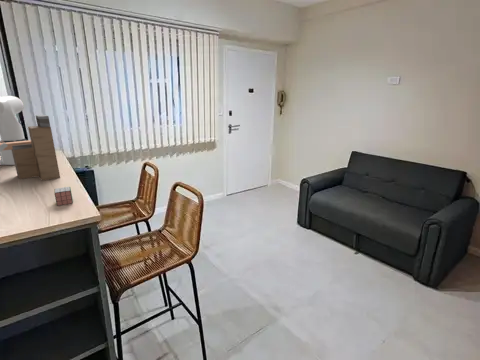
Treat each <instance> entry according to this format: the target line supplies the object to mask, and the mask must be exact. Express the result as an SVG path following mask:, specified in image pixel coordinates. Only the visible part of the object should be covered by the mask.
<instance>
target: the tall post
mask: <svg viewBox="0 0 480 360" xmlns="http://www.w3.org/2000/svg"><path fill="white" fill-rule="evenodd" d="M35 119H36V124H37V125H34V126H33V125H31V126H27V129H28V134H29V140H31V144H32V148H33V153H34V158H35V163H36V167H37V172H38V176H37V177H38V178H39V179H40V180H41V181H49V180H52V179H59V178H61V175H60V174H61V173H60V170H59V169H60V168H59V163H58V158H57V152H56V148H55V142H54V137H53V132H52V126H51V123H50V117H49V115H46V114H37V115H35Z"/></svg>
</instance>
